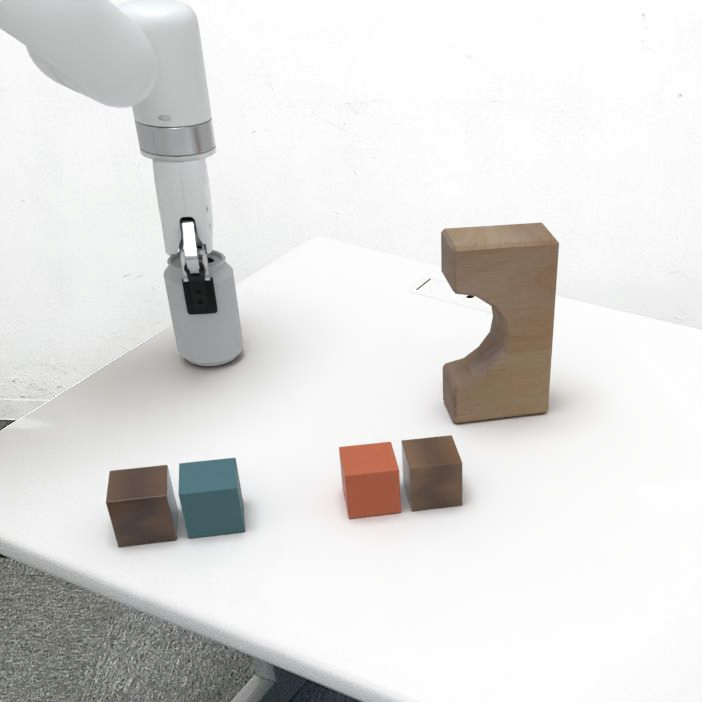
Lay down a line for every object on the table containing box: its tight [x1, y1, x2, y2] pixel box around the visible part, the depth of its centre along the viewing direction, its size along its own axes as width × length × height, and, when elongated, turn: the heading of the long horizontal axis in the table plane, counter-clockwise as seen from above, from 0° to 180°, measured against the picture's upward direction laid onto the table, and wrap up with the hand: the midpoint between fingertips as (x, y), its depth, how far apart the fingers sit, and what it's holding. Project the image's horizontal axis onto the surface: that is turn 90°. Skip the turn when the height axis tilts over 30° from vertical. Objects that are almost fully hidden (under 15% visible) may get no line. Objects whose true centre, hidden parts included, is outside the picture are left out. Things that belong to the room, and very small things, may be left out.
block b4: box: [401, 434, 463, 512], centre depth 94 cm, size 5×5×5 cm
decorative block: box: [440, 222, 560, 424], centre depth 103 cm, size 11×6×20 cm, turn 106°
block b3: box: [338, 441, 402, 520], centre depth 92 cm, size 5×5×5 cm
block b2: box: [178, 457, 246, 539], centre depth 89 cm, size 5×5×5 cm
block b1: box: [105, 464, 178, 548], centre depth 87 cm, size 5×5×5 cm
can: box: [163, 249, 244, 367], centre depth 111 cm, size 8×8×12 cm
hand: (202, 296), depth 110 cm, fingers closed on can, 7 cm apart
